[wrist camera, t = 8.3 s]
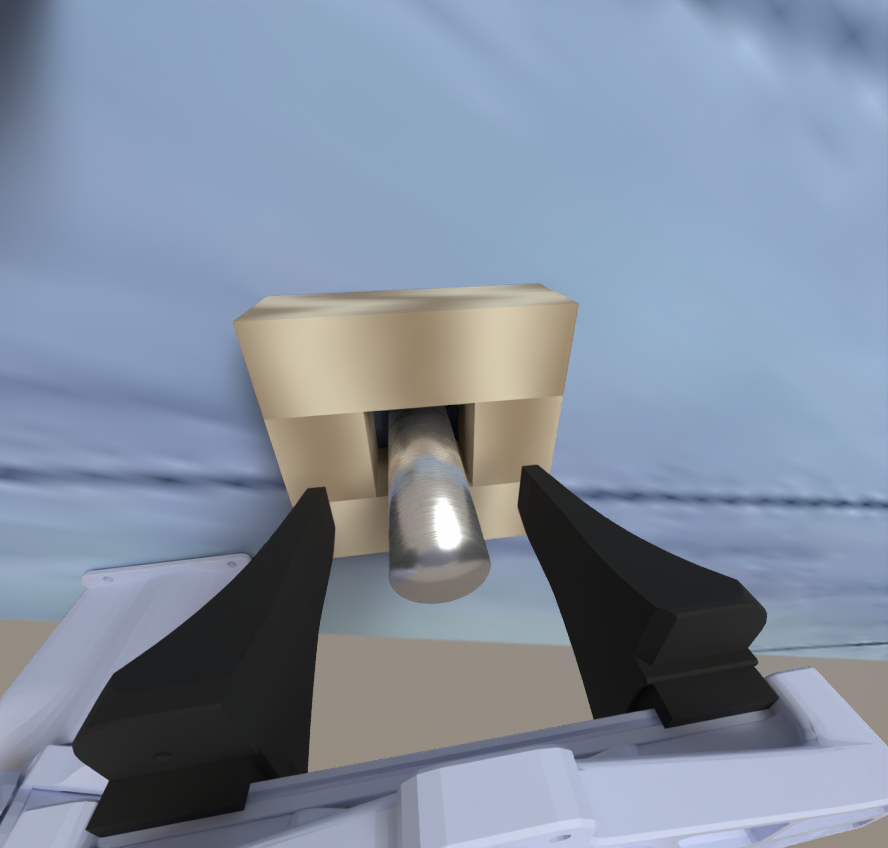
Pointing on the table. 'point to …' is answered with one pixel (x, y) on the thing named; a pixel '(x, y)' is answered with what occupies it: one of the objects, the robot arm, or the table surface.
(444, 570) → the peg
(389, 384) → the knuckle block
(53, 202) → the table surface
